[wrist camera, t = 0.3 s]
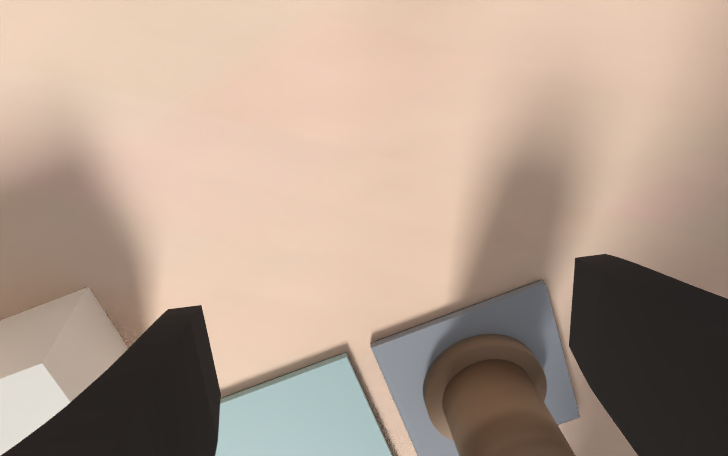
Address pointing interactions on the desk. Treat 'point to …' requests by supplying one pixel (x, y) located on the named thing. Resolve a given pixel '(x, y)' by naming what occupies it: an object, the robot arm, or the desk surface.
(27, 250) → the desk surface
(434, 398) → the pawn
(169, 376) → the robot arm
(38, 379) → the die
